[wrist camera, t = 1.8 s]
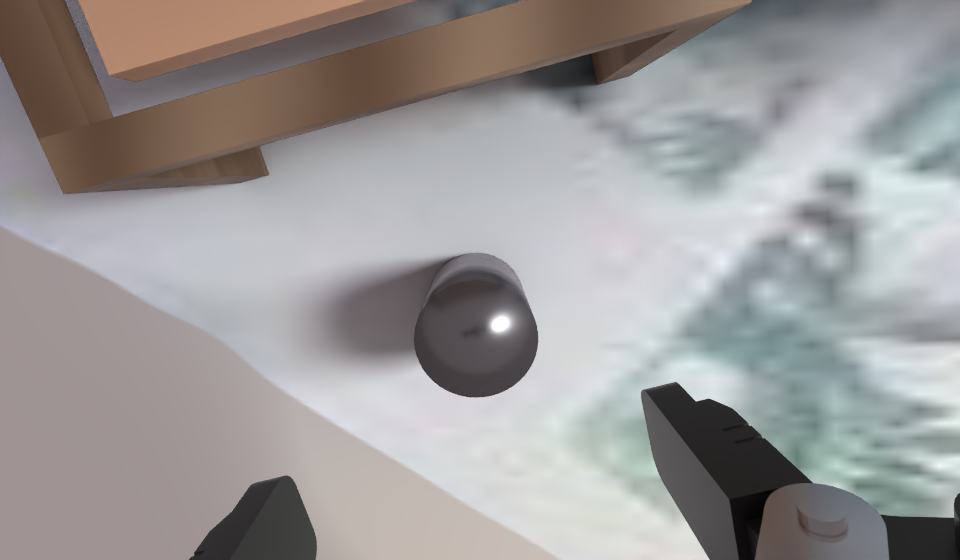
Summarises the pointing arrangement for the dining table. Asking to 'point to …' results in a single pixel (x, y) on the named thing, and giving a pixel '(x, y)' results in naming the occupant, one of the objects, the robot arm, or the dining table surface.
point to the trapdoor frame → (309, 84)
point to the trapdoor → (204, 28)
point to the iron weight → (476, 327)
